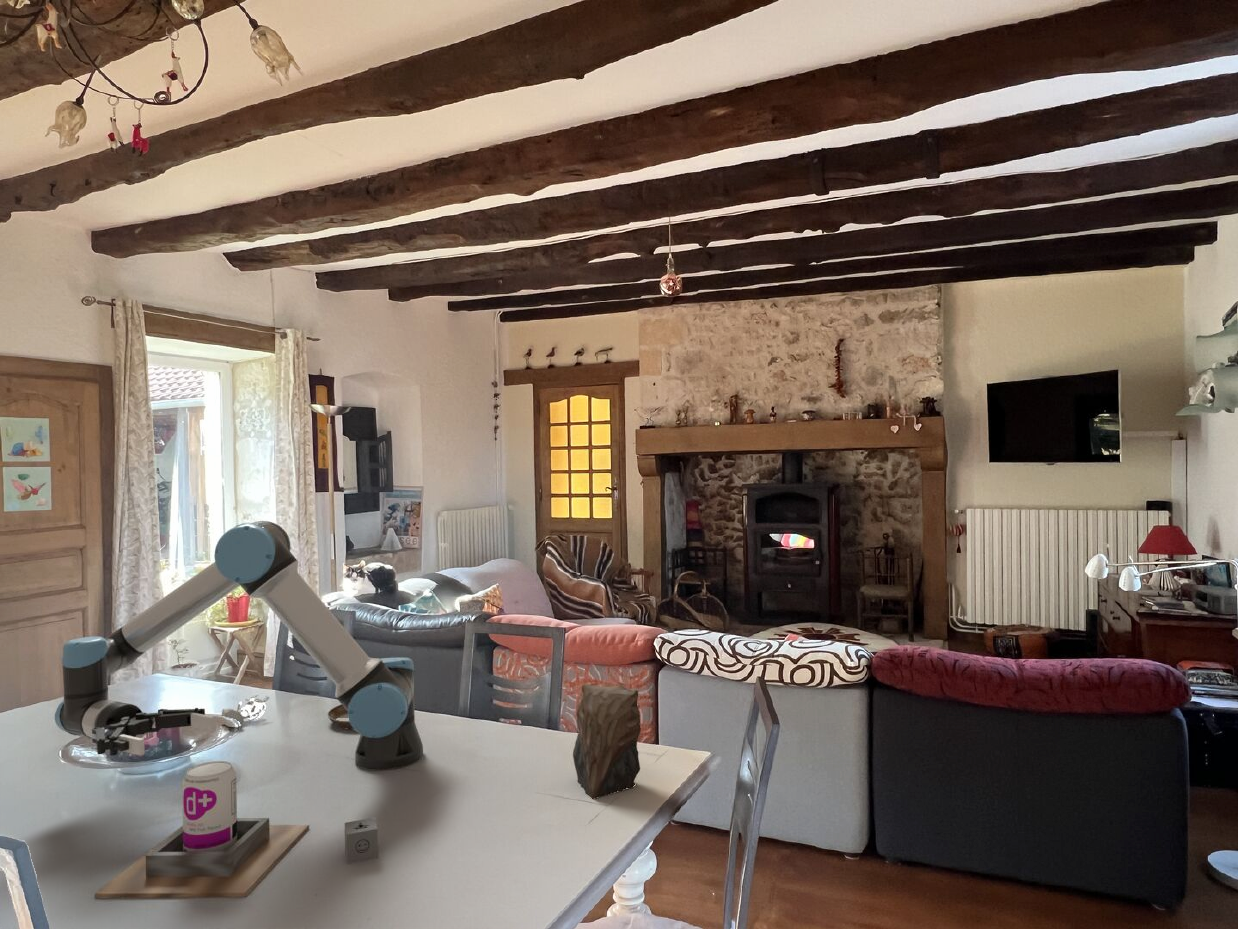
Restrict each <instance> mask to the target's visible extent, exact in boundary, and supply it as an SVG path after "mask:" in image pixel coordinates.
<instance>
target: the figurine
mask: <svg viewBox="0 0 1238 929" xmlns="http://www.w3.org/2000/svg"><path fill="white" fill-rule="evenodd" d="M258 696H259V694H257V695H253V696H251V697H250V698H245V701H246V705H245V706H243V707H241V706H242V703H243V702H242V701H239V702H238V704H237V705H238V706H237V708H236V709H234V708H230V707H229V708H223V709H222V711H221V716H225V717H229V718H233V719H236V720H237V721H239V722H240V724H241V725H242V726H243V725H244V724H245V719H247V720H249V719H250V720H249V721H248V722H251V721H253V720H254V719H257V720H259V719H260V718H261V717H262V716H263V715H264V713H265V712H266V708H267V704H266V702H267V701H268V700H269V699H270V696H269V695H268V696H267V695H266V696H265V697H264V699H261V698H257V697H258ZM221 716H220V717H221ZM258 718H259V719H258ZM254 721H255V720H254Z"/></svg>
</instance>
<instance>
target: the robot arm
mask: <svg viewBox="0 0 1238 929" xmlns="http://www.w3.org/2000/svg"><path fill="white" fill-rule="evenodd" d="M213 556H214V562H213V563H211V564H209V565H207V566H206V567H205V568H204V569H203V570H201V571H200V572H198V573H197V574H196V575H194V576H193V577H191V578H189V579H188V580H187V581H185V582H184V583H182V584H181V585H179V586H178V587H177V588H176V589H174V590H173V591H171V592H170V593H168V594H167V595H165V596H163V597H162V598H161V599H160V600H158V601H156V602H155V603H154V604H153V605H151V606H150V607H148V608H146V610H144V611H142V612H141V613H140V614H138V615H137V616H135V617H134V618H132V619H131V620H129V621H128V622H127V623H125V624H123V625H122V626H121V627H120V628H118V629H117V630H114V632H112V633H111V634H109V635H108V636H107V637H105V638H104V637H103V636H99V635H98V636H85V637H79V638H74V639H71V640H68V641H65V643H64V644H63V646H62V658H61V664H62V678H63V679H62V680H63V700H62V701H61V702H60V703H59V705H58V706H57V708H56V710H55V713H54V721H55V724H56V726H57V728H58V729H60V730H61V731H64V732H65V733H68V734H69V735H73V736H78V737H81V736H82V737H85V738H89V739H90V738H91V740H92V744H95V745H96V752H97V755H104V754H106V751H108V750H109V756H111V757H112V756H116V755H119V752H123V753H128V754H132V755H135V756H143V755H145V739H144V738H142V737H137V736H141V735H145V734H147V733H148V734H149V733H157V732H160V731H161V730H163V729H174V728H183V727H190V728H191V729H195V730H199V731H200V730H201V731H207V732H211V733H213V732H216V731H217V730H216V716H213V715H207V714H206V711H205V708H199V707H195V708H186V709H185V708H184V709H181V708H180V709H168V708H167V709H166V708H159V709H158V710H157V712H149V713H148V712H143V710H141V708H140V707H138V706H137V705H135V704H132V703H128V702H127V703H126V702H122V701H117V700H110V699H109V676H110V675H113V674H115V673H116V672H118V671H120V670H122V669H123V670H124V669H125V668H127V667H129V666H131V665H132V664H133V663H135V662H136V660H138V658H140V657H141V656H143V655H144V654H145V653H146V652H148V651H149V650H150V649H152V648H153V647H155V646H156V645H158V644H159V643H160V642H162V641H164V640H165V639H167V638H168V637H169V636H171V635H172V634H173V633H175V632H176V631H177V630H179V629H180V628H182V627H183V626H185V625H186V624H187V623H189V622H191V621H192V620H193V619H195V618H196V617H198V616H199V615H201V614H202V613H203V612H205V611H207V609H209V608H210V607H211V606H214V604H216V603H217V602H219V601H220V600H222V599H223V598H224V597H226V596H227V595H228V594H229V595H230V593H232V592H233V591H234V590H236V589H237V588H238V587H241V588H242V589H243V590H244V591H245V592H246V594H247V596H248V597H250V598H251V599H253V598H255V599H261V600H263V601H264V603H265V604H266V605H267V606H268V607H269V609H270V610H271V611H272V612H273V614H274V615H275V616H276V617H277V618H278V619H279V620H280V621H281V622H282V624H283V625H284V626H285V627H286V628H287V629H288V631H289V632H290V633H291V635H293V637H294V639H296V640H297V642H298V643H299V644H300V645H301V646H302V647H303V649H304V650H305V651H306V652H307V654H309V655H310V657H311V658H312V659H313V661H314V662H315V663H316V664H317V665H318V666H319V667H320V669H321V670H322V671H323V672H324V673H325V675H327V677H328V678H329V679H330V680H331V681H332V683H333V684H334V685H335V692H334V694H335V695H334V696H335V698H336V699H337V700H338V702H339V703H340V705H341V704H342V705H343V706H344V708H345V709H346V710H347V711H348V718H349V722H350V724H351V726H352V727H353V728H354V731H355V732H357V733H358V734H359V738H358V742H357V745H356V749H355V752H354V764H355V765H356V766H357V767H359V768H361V769H365V770H371V771H372V770H373V771H385V770H394V769H399V768H403V767H407V766H410V765H413V764H415V763H417V762H418V761H420V760H422V758H423V756H424V746H423V742H422V738H421V736H420V734H419V730H418V728H417V725H416V721H415V716H416V715H415V713H416V712H415V677H414V676H415V675H414V673H415V672H416V671H415V667H414V661H413V659H411V658H410V657H384V658H377V657H376V658H375V657H370V656H369V655H368V654H367V653H366V651H364V650H363V648H362V647H361V646H360V644H358V643H357V642H358V641H356V640H355V639H354V638H353V636H352V635H351V633H349V631H347V629H346V628H345V627H344V626H343V624H341V621H339V620H338V618H337V617H336V616H335V615H334V614H333V613H332V611H331V610H330V609H329V608H328V606H326V604H325V603H324V602H323V601H322V600H321V598H320V597H319V596H318V595H317V594H316V593H315V591H314V590H313V589H312V588H311V586H309V584H308V583H307V582H306V580H304V578H303V577H302V576H301V575H300V573H298V568H299V561H298V559H297V558H296V557H295V556H294V555H293V553H292V551H291V540H290V536H289V534H288V533H287V531H286V530H285V529H284V528H283V527H282V526H280V525H279V524H277V523H274V522H272V521H268V520H259V521H253V522H247V523H246V522H245V523H244V522H243V523H241V524H237V525H235V526H233V527H232V528H230V529H228V530H227V531H226V532H224V533H223V535H221V536H220V538H219V539H218V541H217V543H216V545H215V549H214V555H213ZM154 724H155V726H154ZM153 726H154V727H153Z"/></svg>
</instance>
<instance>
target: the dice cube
mask: <svg viewBox="0 0 1238 929" xmlns="http://www.w3.org/2000/svg"><path fill="white" fill-rule="evenodd" d="M378 830H379V829H378V825H377V822H376V818H375V817H369V818H364V819H363V818H362V819H358V820H354V821H348V822H344V853H345V859H346V863H347V864H346V865H349V864H353V863H358V862H363V861H368V860H374V859H378V858H379V837H378V836H379V835H378Z"/></svg>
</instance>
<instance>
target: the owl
mask: <svg viewBox="0 0 1238 929" xmlns="http://www.w3.org/2000/svg"><path fill="white" fill-rule="evenodd" d="M581 692H582V696H581V698H580V701H579V704H578V705H577V710H576V723H577V728H578V733H577V736H576V740H575V743H574V748H573V752H572V757H573V763H574V767H575V772H576V775H577V777H576V778H577V780H576V782H577V783H578V784H579V785H580V787H581V788H582V789H583V790H584V792H585V795H587V796H588V795H589V796H590V797H591V798H592V799H591V798H590V797H589V796H588V797H589V798H590V799H591V800H595V799H594V798H596V799H598V798H597V797H599V798H602V797H606V796H609V795H608V794H610V795H612V794H614V792H616V793H618V792H617V791H620V792H622V791H624V790H623V789H625V790H627V789H626V788H631V787H633V786H634V785H635V783H636V782H635V781H636V780H635V779H636V778H637V776H638V774H639V773H640V771H641V765H640V759H639V751H638V740H639V738H640V734H641V729H642V728H641V724H640V723H641V722H640V721H641V713H640V710H639V706H638V697H639V690H637V689H635V690H631V689H630V688H627V687H626V686H624V685H613V686H609V685H606V686H601V685H600V686H598V685H595V684H586V683H585V684H582V685H581ZM633 788H634V787H633ZM631 789H632V788H631ZM611 793H612V794H611ZM605 795H606V796H605Z"/></svg>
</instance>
